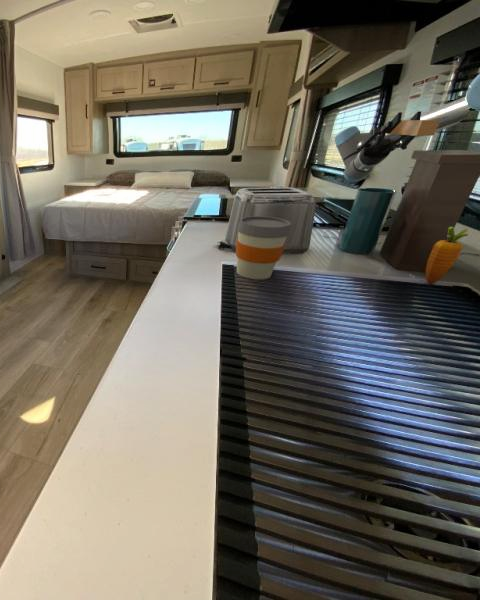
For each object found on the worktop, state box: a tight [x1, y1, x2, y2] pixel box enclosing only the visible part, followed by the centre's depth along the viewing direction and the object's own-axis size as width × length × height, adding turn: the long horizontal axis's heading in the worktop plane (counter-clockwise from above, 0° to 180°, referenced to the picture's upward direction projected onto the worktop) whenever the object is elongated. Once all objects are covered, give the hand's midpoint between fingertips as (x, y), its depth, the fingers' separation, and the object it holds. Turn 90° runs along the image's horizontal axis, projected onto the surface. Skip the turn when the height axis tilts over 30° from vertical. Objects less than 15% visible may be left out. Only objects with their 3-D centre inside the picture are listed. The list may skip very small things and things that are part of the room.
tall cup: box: [338, 187, 397, 256], centre depth 104 cm, size 9×9×19 cm
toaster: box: [216, 187, 320, 255], centre depth 110 cm, size 17×30×19 cm, turn 81°
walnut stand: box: [379, 149, 480, 273], centre depth 91 cm, size 16×10×30 cm, turn 156°
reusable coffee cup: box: [235, 216, 291, 280], centre depth 92 cm, size 13×13×15 cm
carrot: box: [425, 227, 469, 285], centre depth 81 cm, size 5×5×15 cm
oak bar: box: [389, 119, 440, 137], centre depth 93 cm, size 24×4×4 cm, turn 156°
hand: (409, 116), depth 94 cm, fingers closed on oak bar, 3 cm apart
